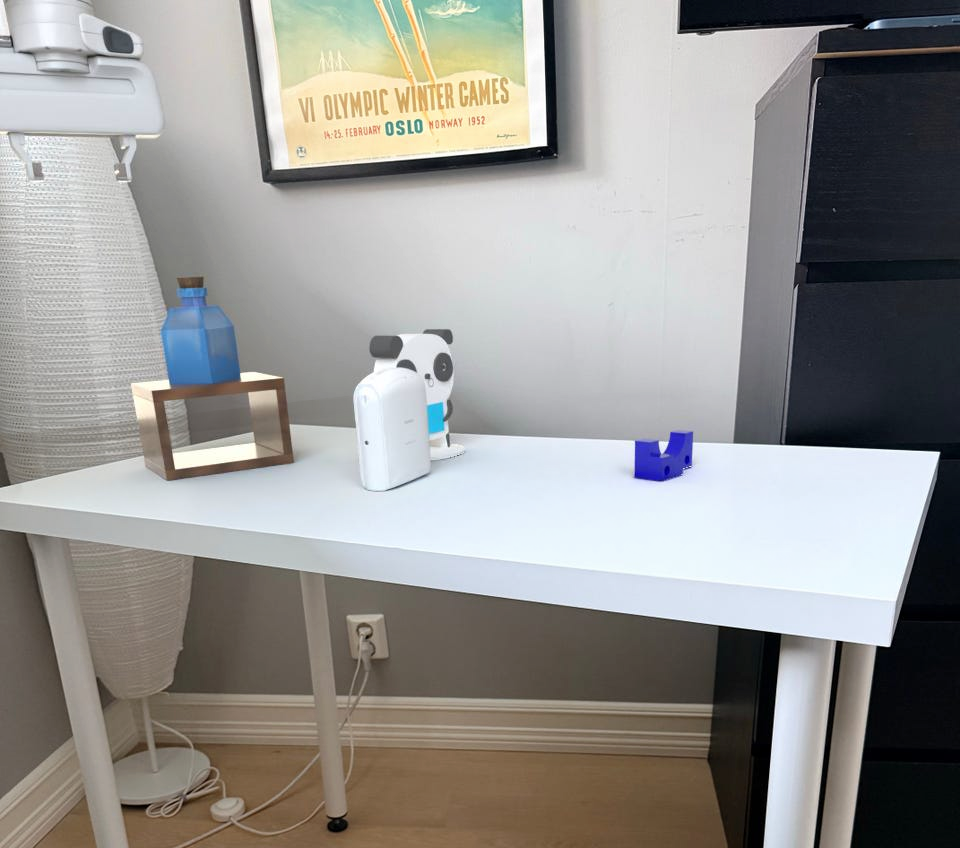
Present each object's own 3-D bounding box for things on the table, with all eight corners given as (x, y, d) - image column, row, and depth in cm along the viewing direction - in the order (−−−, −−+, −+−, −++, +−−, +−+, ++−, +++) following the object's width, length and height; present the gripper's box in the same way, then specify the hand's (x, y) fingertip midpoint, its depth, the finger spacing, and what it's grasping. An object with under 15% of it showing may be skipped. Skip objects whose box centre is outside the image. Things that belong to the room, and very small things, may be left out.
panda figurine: (421, 465, 113) (412, 336, 107) (356, 457, 119) (344, 335, 114) (483, 449, 121) (477, 328, 116) (419, 442, 128) (411, 328, 122)
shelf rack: (166, 480, 111) (151, 390, 107) (145, 466, 121) (130, 383, 117) (294, 462, 118) (284, 377, 114) (264, 450, 128) (254, 371, 124)
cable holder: (661, 481, 98) (662, 443, 97) (634, 477, 101) (635, 440, 99) (703, 468, 103) (704, 432, 102) (676, 465, 106) (678, 429, 104)
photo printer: (389, 492, 99) (379, 373, 95) (356, 490, 101) (344, 373, 96) (436, 473, 108) (430, 363, 103) (405, 471, 109) (397, 363, 105)
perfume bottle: (199, 377, 119) (184, 277, 115) (240, 377, 117) (226, 275, 113) (169, 383, 114) (152, 279, 109) (211, 383, 112) (196, 276, 107)
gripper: (-52, 24, 93) (-18, 178, 98) (156, 39, 102) (177, 178, 107) (-55, 38, 98) (-23, 184, 103) (144, 51, 107) (164, 184, 112)
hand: (81, 181), depth 105 cm, fingers open, 8 cm apart
